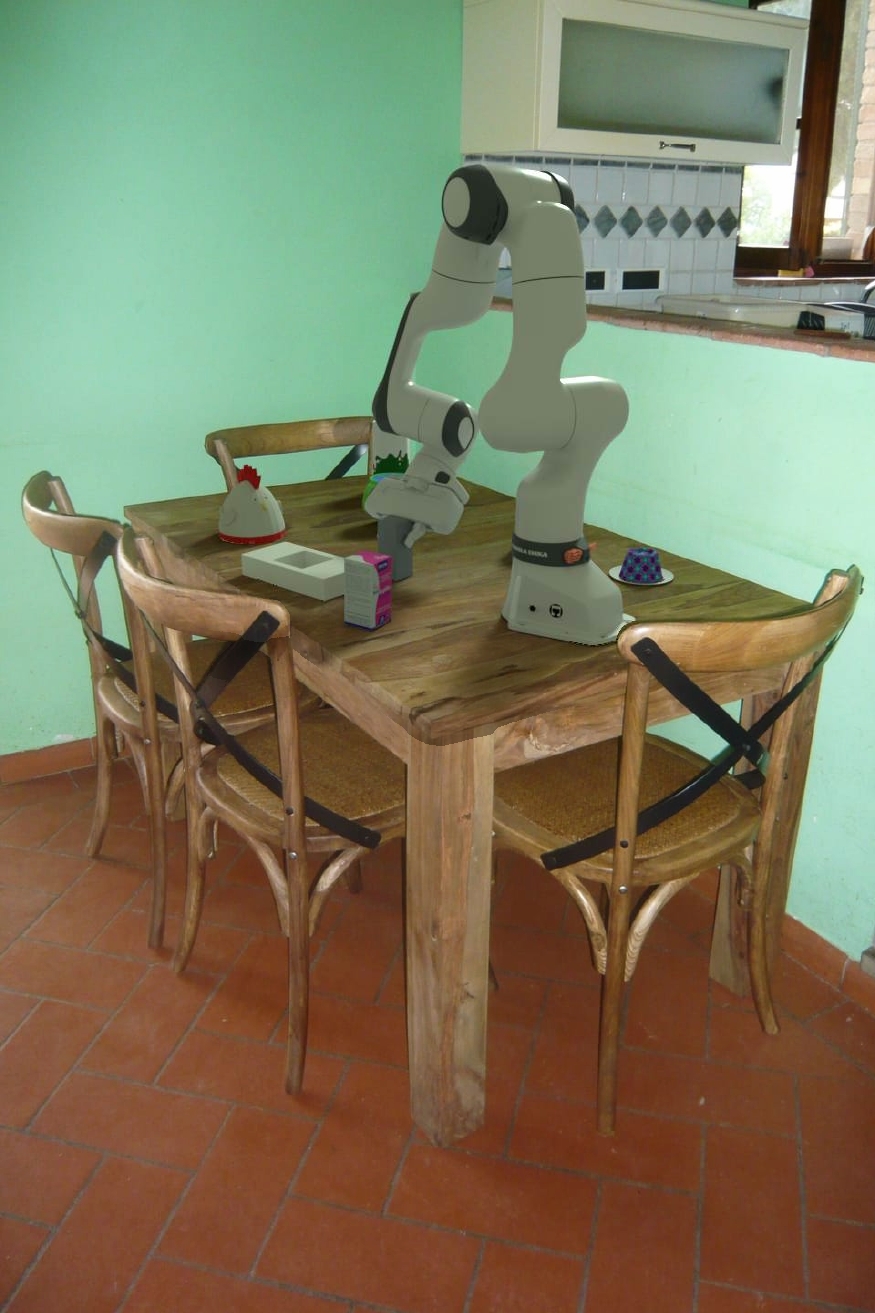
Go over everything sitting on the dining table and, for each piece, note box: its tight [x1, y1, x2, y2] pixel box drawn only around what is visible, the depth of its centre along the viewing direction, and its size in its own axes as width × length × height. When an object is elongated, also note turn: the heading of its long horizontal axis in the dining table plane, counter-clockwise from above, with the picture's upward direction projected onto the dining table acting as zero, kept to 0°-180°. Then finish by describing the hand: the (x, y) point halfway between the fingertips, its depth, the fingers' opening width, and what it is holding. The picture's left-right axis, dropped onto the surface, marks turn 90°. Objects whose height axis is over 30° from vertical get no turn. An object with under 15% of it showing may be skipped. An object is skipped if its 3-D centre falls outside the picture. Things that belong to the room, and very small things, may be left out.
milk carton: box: [371, 418, 411, 476], centre depth 241 cm, size 9×9×20 cm
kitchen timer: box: [218, 464, 287, 545], centre depth 207 cm, size 14×14×15 cm
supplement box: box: [343, 550, 393, 632], centre depth 162 cm, size 6×6×12 cm
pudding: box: [608, 547, 674, 586], centre depth 186 cm, size 12×12×5 cm
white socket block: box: [240, 541, 345, 602], centre depth 183 cm, size 22×11×4 cm, turn 50°
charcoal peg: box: [377, 515, 414, 582], centre depth 184 cm, size 4×4×11 cm
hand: (392, 542), depth 183 cm, fingers closed on charcoal peg, 4 cm apart
